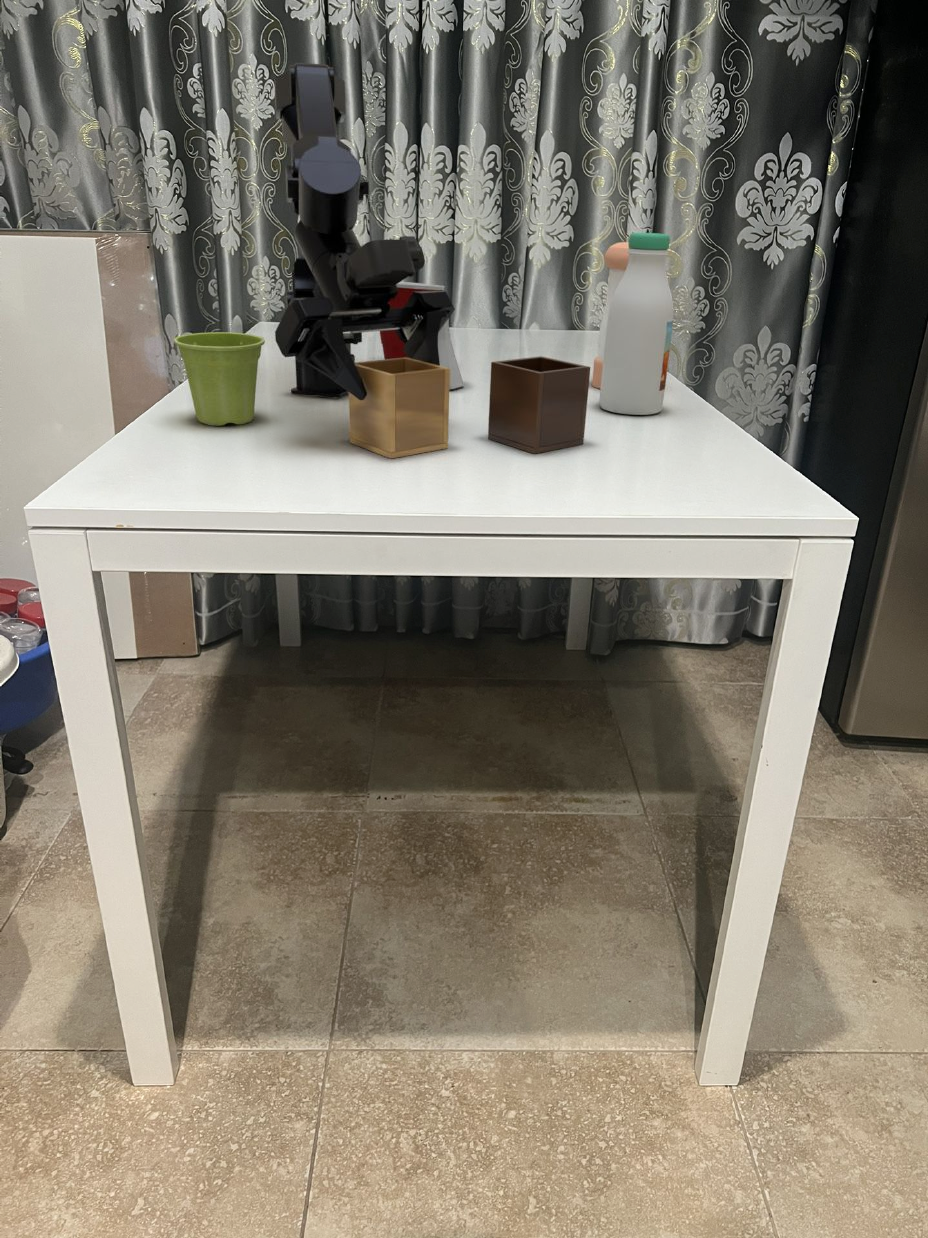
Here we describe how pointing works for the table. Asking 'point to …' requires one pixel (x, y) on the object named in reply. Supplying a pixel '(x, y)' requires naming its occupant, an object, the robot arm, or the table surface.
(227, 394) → the plant pot
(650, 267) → the milk bottle
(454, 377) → the flask
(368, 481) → the table surface
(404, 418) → the light brown open box
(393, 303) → the plastic cup
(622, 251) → the pepper shaker
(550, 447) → the box
